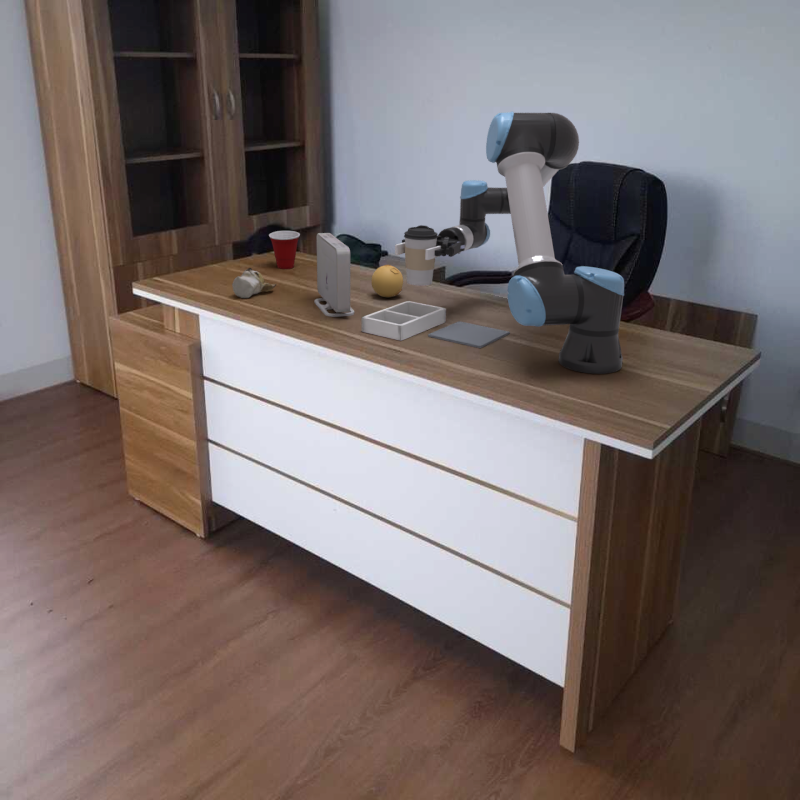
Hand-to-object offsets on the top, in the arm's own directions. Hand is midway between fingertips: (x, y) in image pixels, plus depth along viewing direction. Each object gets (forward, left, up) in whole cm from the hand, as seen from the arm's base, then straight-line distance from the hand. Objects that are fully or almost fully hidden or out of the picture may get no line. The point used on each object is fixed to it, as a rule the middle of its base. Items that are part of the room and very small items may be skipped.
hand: (411, 252), depth 218 cm
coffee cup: (+2, -4, -9) cm, 10 cm away
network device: (+26, +12, -21) cm, 36 cm away
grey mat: (-12, -12, -21) cm, 27 cm away
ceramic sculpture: (+50, +30, -21) cm, 62 cm away
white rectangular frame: (+1, +1, -21) cm, 21 cm away
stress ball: (+32, -8, -21) cm, 40 cm away
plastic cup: (+82, +9, -21) cm, 86 cm away
